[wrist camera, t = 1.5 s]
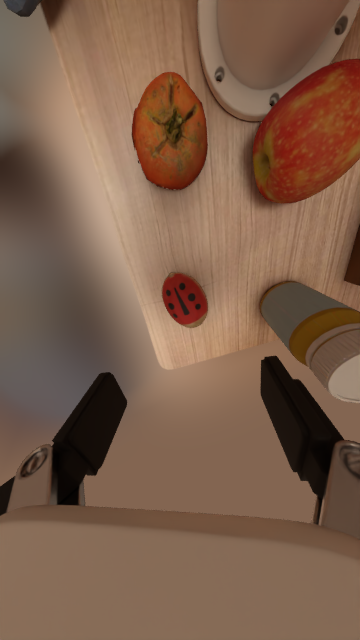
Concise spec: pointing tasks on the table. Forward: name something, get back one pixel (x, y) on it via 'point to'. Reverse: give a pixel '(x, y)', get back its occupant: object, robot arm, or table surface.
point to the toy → (22, 6)
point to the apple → (310, 135)
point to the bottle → (318, 335)
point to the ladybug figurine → (184, 299)
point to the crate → (354, 263)
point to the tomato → (170, 132)
